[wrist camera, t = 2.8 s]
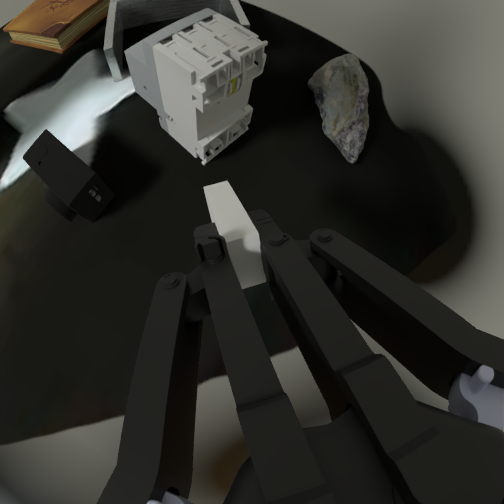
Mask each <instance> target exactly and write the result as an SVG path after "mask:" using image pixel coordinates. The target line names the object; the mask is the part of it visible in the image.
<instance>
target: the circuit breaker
mask: <svg viewBox="0 0 504 504" xmlns="http://www.w3.org/2000/svg"><path fill="white" fill-rule="evenodd" d="M258 37H259V36H258V35H256V34H255V33H253V32H251V31H250V30H248V29H246V28H245V27H243V26H241V25H239V24H238V23H236V22H234V21H232V20H230V19H229V18H227V17H225V16H223V15H221V14H219V13H217V12H215V11H213V10H211V9H209V8H206V9H204V10H201V11H199V12H197V13H194V14H192V15H190V16H188V17H186V18H184V19H181V20H178V21H176V22H174V23H172V24H170V25H169V26H167V27H165V28H163V29H161V30H159V31H157V32H155V33H154V34H152V35H150V36H148V37H146V38H145V39H143V40H141V41H140V42H138V43H136V44H135V45H133V46H131V47H130V48H128V49H127V50H125V51H124V52H125V56H126V60H127V63H128V67H129V70H130V74H131V77H132V80H133V84H134V87H135V90H136V92H137V93H138V94H139V95H140V96H141V97H143V98H144V99H145V100H146V101H147V102H148V103H150V104H151V105H152V106H153V107H154V108H155V109H157V113H158V115H159V116H161V117H160V118H159V121H160V125H161V127H162V128H163V129H164V130H166V131H167V132H168V133H169V134H170V135H171V136H172V137H173V138H174V139H176V140H177V141H178V142H179V143H180V144H181V145H182V146H183V147H184V148H185V149H187V150H188V151H189V152H190V153H191V154H192V155H193V156H194V157H195V158H196V159H197V158H198V157H200V158H201V159H202V160H203V161H202V164H203V165H205V164H207V163H208V162H209V161H210V160H211V159H212V158H214V157H215V156H216V155H217V154H218V153H220V152H221V151H222V150H223V149H225V148H226V147H227V146H228V145H229V144H231V143H232V142H233V141H234V140H236V139H237V138H238V137H239V136H241V135H242V134H243V133H245V132H246V131H247V130H248V127H247V125H248V124H249V123H250V120H251V116H252V112H253V108H252V107H251V106H250V105H248V99H249V94H250V90H251V85H252V81H253V79H254V78H256V77H257V76H259V75H260V74H262V72H263V68H264V64H265V61H266V54H265V53H264V47H265V46H266V45H268V41H266V40H265V41H263V42H262V41H261V40H259V39H258ZM254 60H255V61H257V62H258V63H259V64H258V66H257V65H256V64H255V63H254ZM245 116H246V117H245ZM234 133H235V134H236V135H235V136H234V137H233V134H234ZM217 147H219V149H218V150H217V151H215V148H217ZM206 151H207V152H208V153H209V154H210V156H207V155H205V153H206Z"/></svg>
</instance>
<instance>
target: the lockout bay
mask: <svg viewBox="0 0 504 504" xmlns="http://www.w3.org/2000/svg"><path fill="white" fill-rule="evenodd" d="M206 8H209V9H211V10H213V11H215V12H217V13H219V14H221V15H223V16H225V17H227V18H229V19H230V20H232V21H234V22H236V23H238V24H239V25H241V26H243V27H245V28H246V29H248V30H249V27H250V24H249V22H248V20H247V17H246V15H245V13H244V11H243V9H242V8H241V6H240V4H239V2H238V0H110V4H109V10H108V17H107V24H106V32H105V40H104V53H105V56H106V59H107V62H108V65H109V67H110V70H111V73H112V76H113V78H114V81H115V82H117V81H120V80H123V30H125V29H128V28H132V27H136V26H140V25H145V24H149V23H154V22H159V21H164V20H169V19H175V18H181V17H188V16H190V15H192V14H194V13H197V12H199V11H201V10H204V9H206Z"/></svg>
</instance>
